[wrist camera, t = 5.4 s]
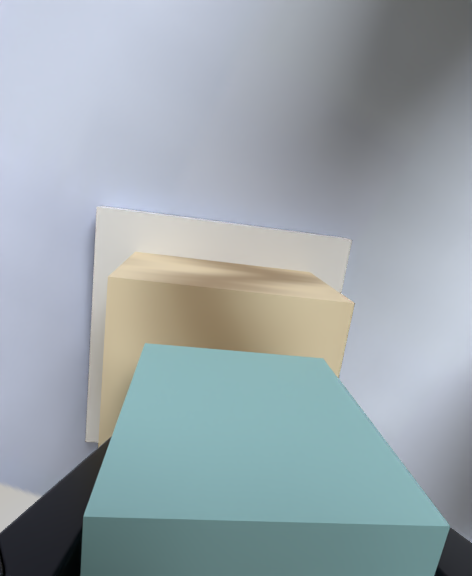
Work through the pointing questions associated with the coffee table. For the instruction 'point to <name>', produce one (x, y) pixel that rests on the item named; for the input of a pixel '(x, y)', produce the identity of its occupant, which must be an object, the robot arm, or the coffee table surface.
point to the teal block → (252, 476)
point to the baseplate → (198, 245)
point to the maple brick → (213, 316)
